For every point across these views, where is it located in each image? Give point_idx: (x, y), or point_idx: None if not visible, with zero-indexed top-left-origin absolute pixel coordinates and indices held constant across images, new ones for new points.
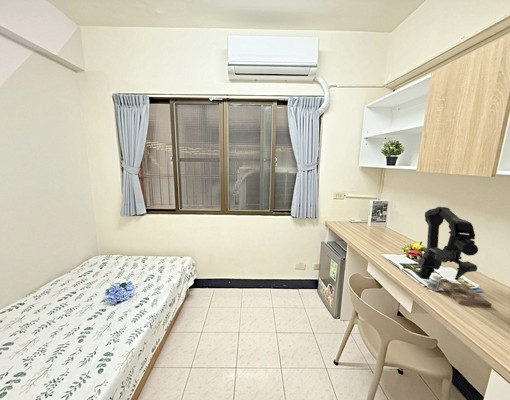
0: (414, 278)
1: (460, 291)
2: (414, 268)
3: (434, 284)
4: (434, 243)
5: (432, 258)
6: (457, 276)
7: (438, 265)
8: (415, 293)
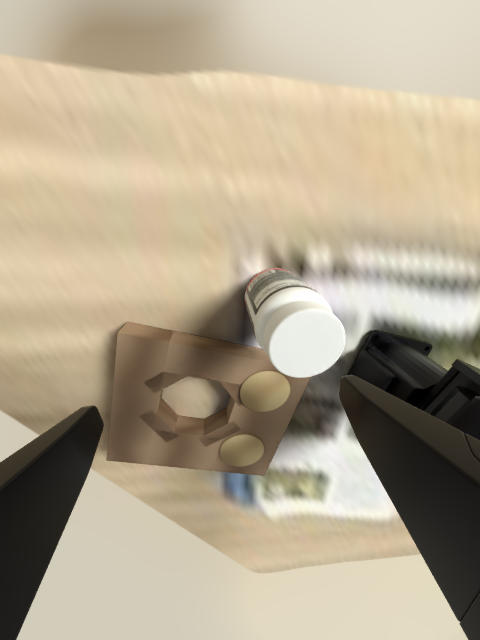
0: (388, 270)
1: (223, 417)
2: None
3: (260, 289)
4: None
5: None
6: (23, 451)
7: (372, 433)
8: (231, 76)
